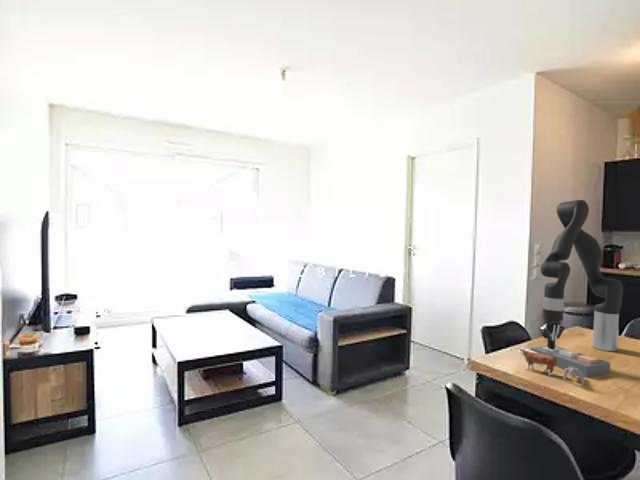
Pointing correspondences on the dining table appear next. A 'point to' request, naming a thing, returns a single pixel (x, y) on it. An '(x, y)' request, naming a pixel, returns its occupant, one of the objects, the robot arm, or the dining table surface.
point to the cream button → (568, 353)
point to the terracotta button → (587, 359)
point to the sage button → (551, 349)
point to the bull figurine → (538, 359)
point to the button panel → (575, 362)
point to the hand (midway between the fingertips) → (551, 348)
